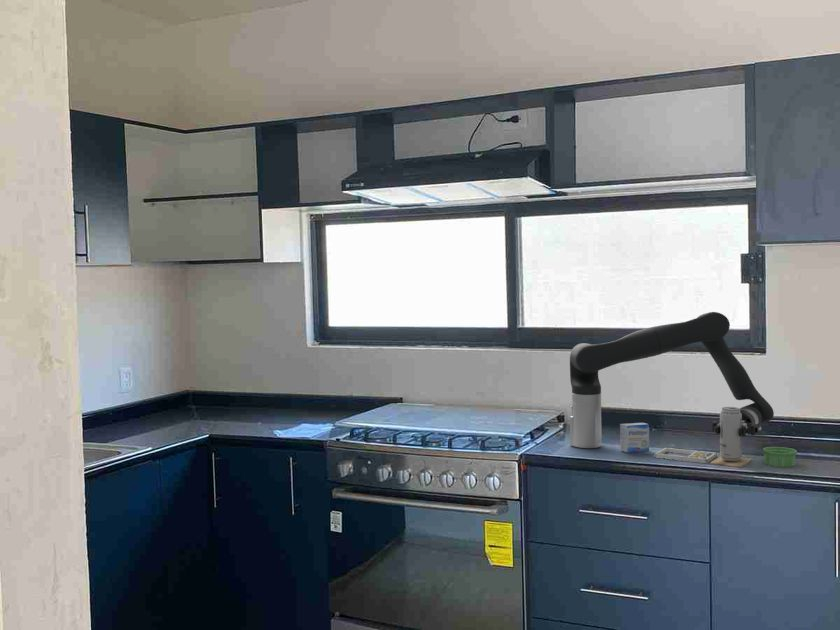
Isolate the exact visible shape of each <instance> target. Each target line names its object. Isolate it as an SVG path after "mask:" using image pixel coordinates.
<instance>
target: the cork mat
mask: <svg viewBox="0 0 840 630" xmlns="http://www.w3.org/2000/svg"><path fill="white" fill-rule="evenodd" d="M752 460H753V459H752V458H747V457H746V458H745V457H741V458H740V460H738V461H727V460H723V459H722V457H721V456H720V455H719V456H717V457H716V458H714V459H713V460H711V461H710V462H709V464H710V465H714V466H715V465H716V466H724V467H734V468H741V469H743V468H744V467H745V466H746V465H747V464H749V463H750V462H751V461H752Z"/></svg>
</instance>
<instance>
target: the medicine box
mask: <svg viewBox="0 0 840 630" xmlns="http://www.w3.org/2000/svg"><path fill="white" fill-rule="evenodd" d="M619 439H620V440H619V442H620V443H619V447H620V448H619V449H620V451H621V452H623V451H624V452H623V453H626V452H627V453H626V454H634V453H633V452H637V453H645V452H644V451H648V452H649V451H650V424H649V423H645V422H633V423H632V422H631V423H619Z"/></svg>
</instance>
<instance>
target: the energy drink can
mask: <svg viewBox="0 0 840 630" xmlns="http://www.w3.org/2000/svg"><path fill="white" fill-rule="evenodd" d="M739 409H740V407H737V406H736V407H735V406H723V407H722V408H721V411H720V412H719V423H720V434H719V456H721V457H722V459H723V460H727V461H738V460H740V458H743V453H742V451H743V440H742V439H743V437H742V436H739V429H740V428H741V427H742V414H741V412H740V410H739Z"/></svg>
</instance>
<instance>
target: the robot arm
mask: <svg viewBox="0 0 840 630" xmlns="http://www.w3.org/2000/svg"><path fill="white" fill-rule="evenodd" d="M730 326H731V324H730V320H729V319H728V317H727V316H726V315H724V314H723V313H720V312H716V311H709V312H705V313H702V314H700V315H698V316H697V317H696V318H693V319H690V320H686V321H681V322H675V323H667V324H662V325H661V324H660V325H655V326H651V327H647V328H643V329H639V330H637V331H633V332H632V333H629V334H626V335H625V336H623V337H620V338H619V339H617V340H613V341H609V342H602V343H595V344H591V343H588V342H587V343H586V342H584V343H583V342H581V343H578V344H576V345H575V346H574V347H573V348H572V349H571V352H570V354H569V374H570V375H569V376H570V377H569V379H570V385H571V393H572V394H571V401H572V404H571V405H572V406H571V414H572V415H571V416H569V446H571V447H574V448H575V447H576V448H578V449H579V448H581V449H597V448H601V447H602V385H601V383H600V378H599V371H601V370H603V369H606V368H609V367H612V366H615V365H618V364H621V363H627V362H633V361H637V360H638V361H639V360H643V359H647V358H652V357H655V356H659V355H663V354H666V353H669V352H672V351H675V350H677V349H680V348H683V347H685V346H688V345H691V344H696V343H701V344H702V345H703V346H704V347H705V349H706V350H707V352H708V353H709V354H710V356H711V358H712V359H713V361H714V362H715V364H716V366H717V367H718V369H719V371H720V372H721V374H722V377H723V378H724V381H725V382H726V385H728V388H729V389H730V391H731V394H732V396H733V398H734V399H735V400H737V401H744V400H749V401H752V402H753V403H749V404H747V405H745V406H742V407H739V410H740V412H741V414H742V427H741V428H740V429H739V436H742V438H744V437H747V436H748V435H751V436H755V435H757V434H760V433H762V424H765V423H769V422H770V421H772V420H773V419H774V415H775V412H774V409H773V407H772V406H771V404H770V403H769V402H768V401H767V400H766V399H765V397H764V396H762V395H761V394H760V392H759V391H758V390H757V388H756V387H755V385H754V384H753V381H752V380H751V378H750V375H749V374H748V372H747V370H746V368H745V367H744V366H743V364H742V363H741V362H740V361H739V360H738V359H737V357H736V356H735V355H734V354H733V353H732V351H731V350H730V348H729V346H728V345H727V343H726V340H725V338H724V337H725V336H726V335H727V334H728V333H729V331H730V328H731V327H730ZM711 432H714V433H715V435H720V420H718V419H714V420H713V421H712V423H711Z"/></svg>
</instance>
